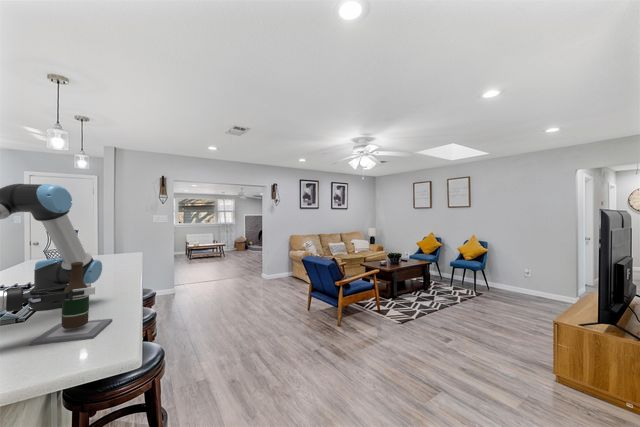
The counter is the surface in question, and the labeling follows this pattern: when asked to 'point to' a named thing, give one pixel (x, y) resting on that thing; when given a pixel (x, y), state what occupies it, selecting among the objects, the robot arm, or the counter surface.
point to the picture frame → (72, 332)
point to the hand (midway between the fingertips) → (92, 288)
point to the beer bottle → (75, 300)
